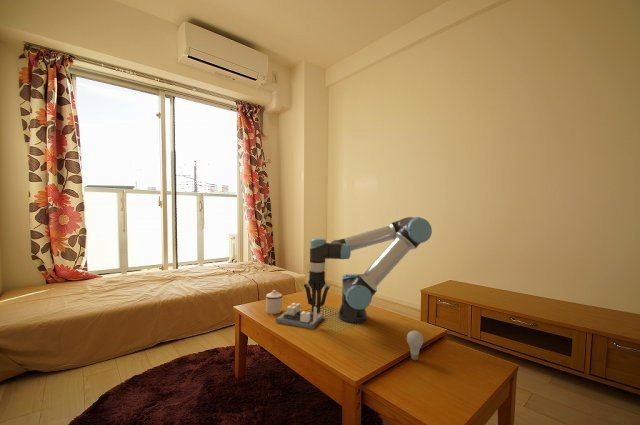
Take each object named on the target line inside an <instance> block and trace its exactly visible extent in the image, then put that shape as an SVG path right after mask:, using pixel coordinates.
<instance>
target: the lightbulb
mask: <svg viewBox="0 0 640 425" xmlns="http://www.w3.org/2000/svg"><path fill="white" fill-rule="evenodd" d="M424 341H425V340H424V337H423V334H422V333H421V332H419V331H418V330H410V331H409V332H408V333H407V335H406V342H407V344H408V346H409V349H410V359H412V360H413V361H417V360H418V359H419V355H420V350H421V348H422V347H423V344H424Z"/></svg>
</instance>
